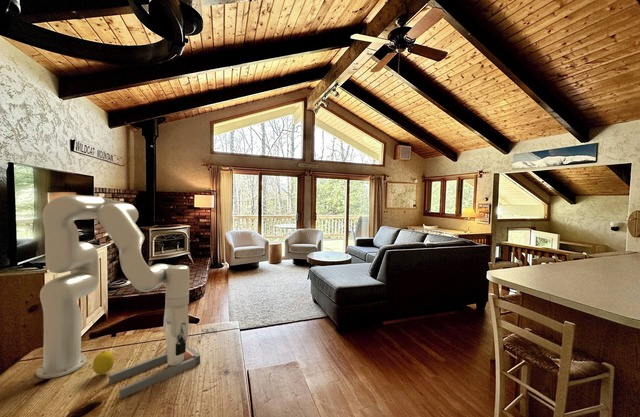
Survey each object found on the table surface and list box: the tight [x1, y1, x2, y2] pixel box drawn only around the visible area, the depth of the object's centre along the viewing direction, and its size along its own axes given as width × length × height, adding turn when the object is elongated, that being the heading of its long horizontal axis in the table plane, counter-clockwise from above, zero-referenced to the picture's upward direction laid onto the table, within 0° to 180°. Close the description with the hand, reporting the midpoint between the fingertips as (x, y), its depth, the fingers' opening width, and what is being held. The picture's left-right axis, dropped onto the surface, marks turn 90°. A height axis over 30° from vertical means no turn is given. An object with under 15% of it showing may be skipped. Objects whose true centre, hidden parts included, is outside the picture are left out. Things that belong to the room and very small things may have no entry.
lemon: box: [92, 350, 115, 376], centre depth 91 cm, size 6×6×8 cm
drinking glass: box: [165, 322, 185, 367], centre depth 98 cm, size 7×7×15 cm
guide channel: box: [108, 344, 201, 399], centre depth 93 cm, size 11×24×3 cm, turn 141°
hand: (176, 349), depth 98 cm, fingers closed on drinking glass, 6 cm apart
